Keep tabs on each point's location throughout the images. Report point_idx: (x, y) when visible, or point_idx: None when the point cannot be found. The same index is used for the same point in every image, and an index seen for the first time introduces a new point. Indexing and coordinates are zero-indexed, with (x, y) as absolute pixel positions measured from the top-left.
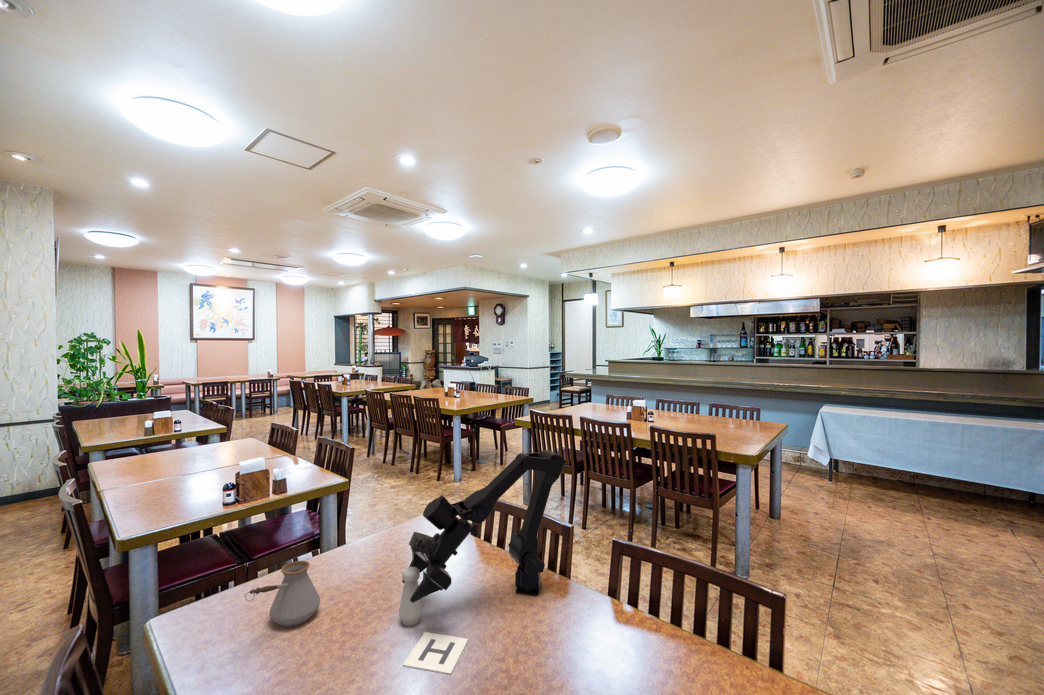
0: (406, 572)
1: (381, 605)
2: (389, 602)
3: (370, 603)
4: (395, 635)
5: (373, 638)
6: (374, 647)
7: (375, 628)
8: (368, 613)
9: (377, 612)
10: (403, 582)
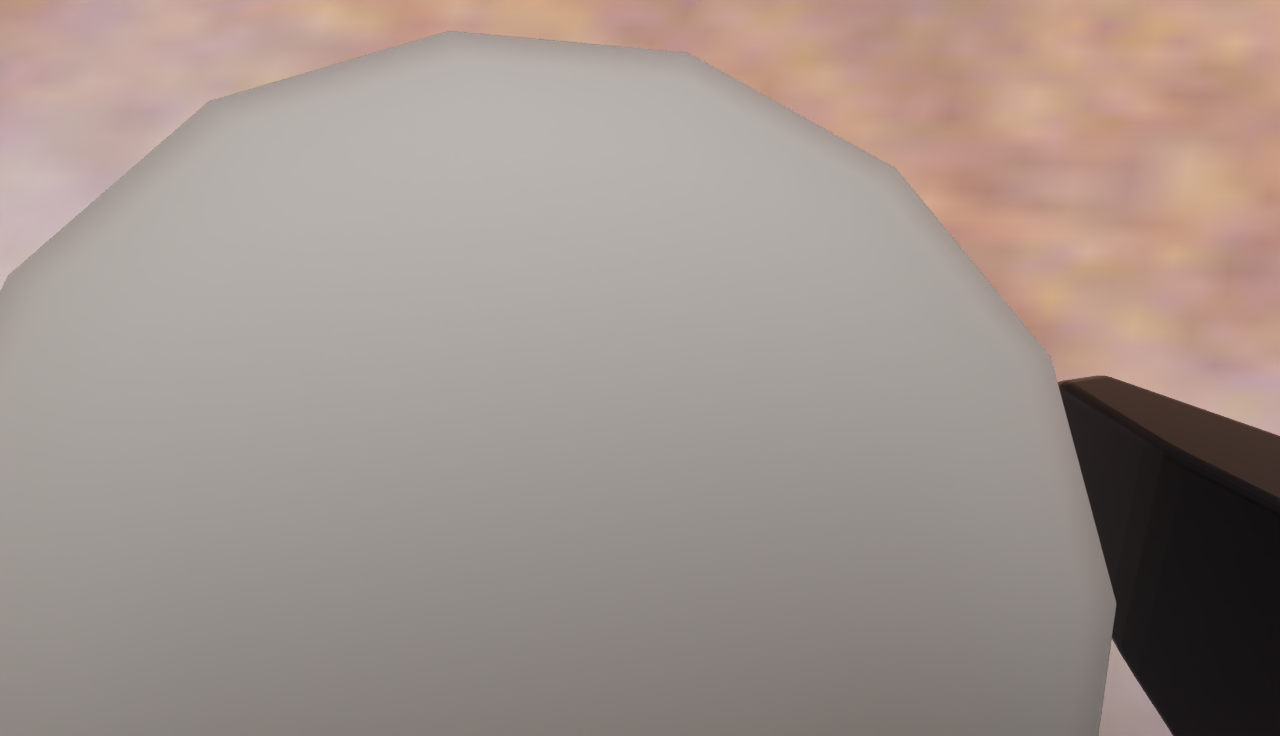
0: (259, 187)
1: (1087, 205)
2: (1151, 329)
3: (1169, 52)
4: None
5: (238, 70)
6: (3, 78)
7: None
8: (909, 20)
9: (906, 142)
10: None
